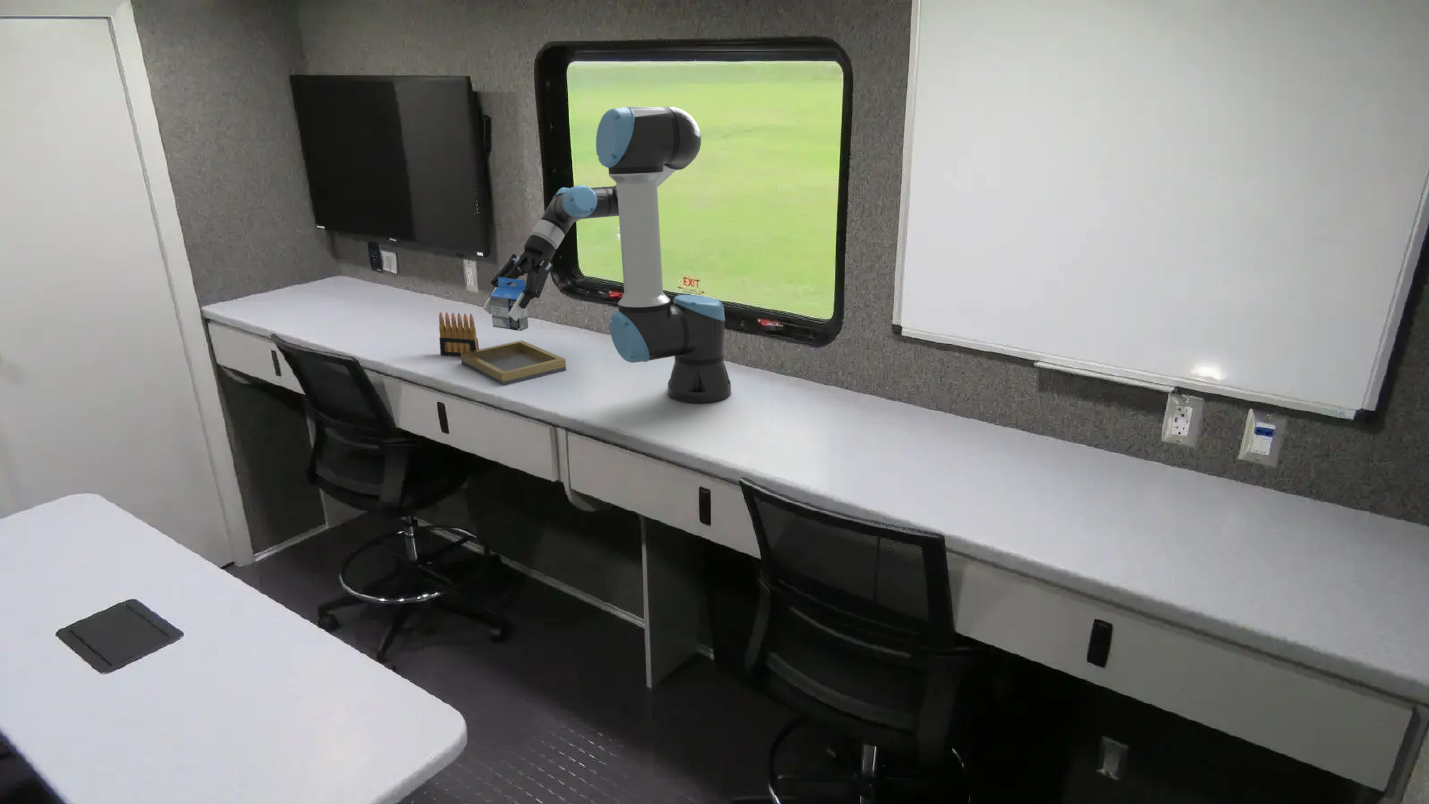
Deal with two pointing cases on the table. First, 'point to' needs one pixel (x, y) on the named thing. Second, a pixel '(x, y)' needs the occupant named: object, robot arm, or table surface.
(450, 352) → the ammunition clip
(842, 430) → the table surface
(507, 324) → the blue and grey box
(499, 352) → the shallow wooden tray
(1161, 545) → the table surface
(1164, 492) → the table surface
